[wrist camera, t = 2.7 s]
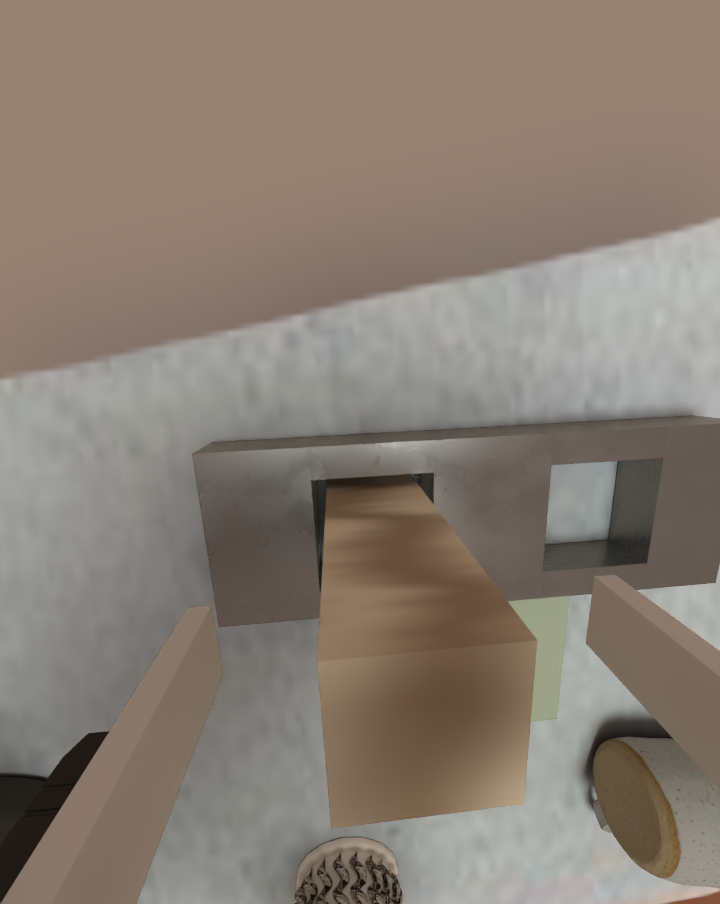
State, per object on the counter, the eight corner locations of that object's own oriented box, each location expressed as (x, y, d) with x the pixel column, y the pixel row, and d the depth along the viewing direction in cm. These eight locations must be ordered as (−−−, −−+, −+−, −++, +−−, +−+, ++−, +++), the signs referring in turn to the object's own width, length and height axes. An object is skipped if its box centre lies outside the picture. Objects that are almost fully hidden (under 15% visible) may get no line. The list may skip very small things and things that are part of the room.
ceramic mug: (598, 712, 27) (698, 842, 20) (692, 714, 28) (823, 841, 20) (564, 811, 30) (641, 960, 22) (652, 811, 30) (755, 955, 23)
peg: (332, 550, 22) (331, 828, 9) (327, 476, 21) (317, 661, 8) (409, 544, 23) (523, 804, 9) (408, 471, 22) (537, 640, 8)
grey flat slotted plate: (233, 593, 22) (219, 626, 20) (212, 442, 20) (192, 454, 17) (669, 557, 24) (715, 582, 21) (694, 415, 22) (749, 421, 19)
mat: (411, 728, 26) (412, 735, 26) (409, 599, 24) (411, 604, 23) (552, 712, 27) (556, 718, 26) (565, 585, 24) (570, 589, 24)
